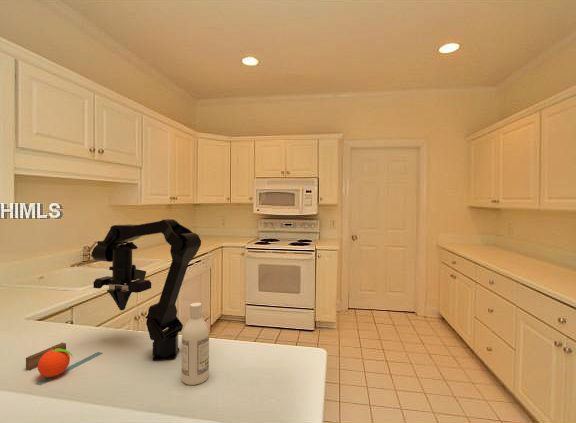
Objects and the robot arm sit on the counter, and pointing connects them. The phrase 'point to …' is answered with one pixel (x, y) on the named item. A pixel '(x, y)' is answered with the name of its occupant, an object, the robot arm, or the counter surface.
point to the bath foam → (195, 348)
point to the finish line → (69, 368)
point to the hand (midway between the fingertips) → (122, 310)
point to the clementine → (54, 362)
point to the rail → (34, 359)
